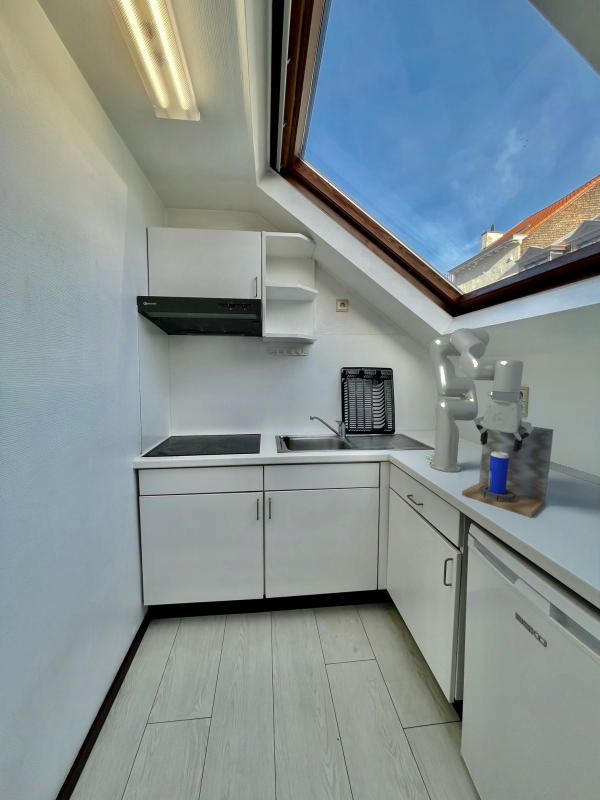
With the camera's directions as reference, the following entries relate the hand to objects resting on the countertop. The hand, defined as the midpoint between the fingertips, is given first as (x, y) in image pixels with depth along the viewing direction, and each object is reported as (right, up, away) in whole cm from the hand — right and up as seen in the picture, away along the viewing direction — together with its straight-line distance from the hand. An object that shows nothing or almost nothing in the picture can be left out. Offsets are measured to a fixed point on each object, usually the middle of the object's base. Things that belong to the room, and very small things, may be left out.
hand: (499, 447), depth 102 cm
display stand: (+2, -18, +2) cm, 19 cm away
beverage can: (-1, -17, +1) cm, 17 cm away
